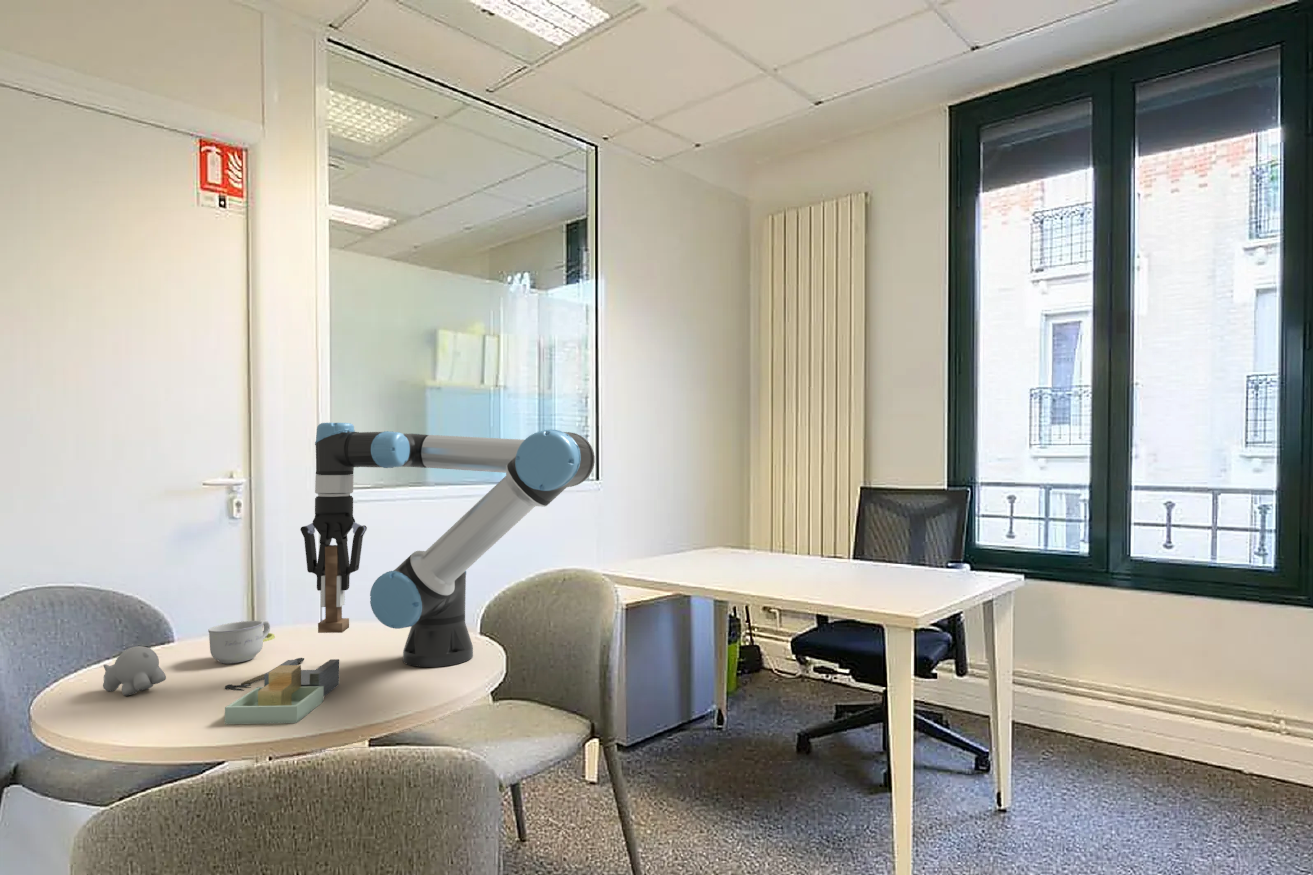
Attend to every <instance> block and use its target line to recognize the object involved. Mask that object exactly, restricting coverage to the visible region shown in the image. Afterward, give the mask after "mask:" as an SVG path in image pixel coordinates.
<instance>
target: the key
mask: <svg viewBox="0 0 1313 875" xmlns="http://www.w3.org/2000/svg"><path fill="white" fill-rule="evenodd" d="M275 638H276V637H275V634H274V633H271V632H269V633H268V635H267V636H266V637H265V638H264V639H263V643H264V642H268V641H272V640H274V639H275Z"/></svg>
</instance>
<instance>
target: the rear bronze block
mask: <svg viewBox="0 0 1313 875" xmlns="http://www.w3.org/2000/svg"><path fill="white" fill-rule="evenodd" d="M274 668H275V669H274ZM274 668H272V669H273V670H272V669H271V670H272V671H271V670H269V671H270V672H269V671H268V672H269V684H274V683H292V694H293V693H294V692H295V691H296V690H298V689H299V688H300V687H301V670H302V664H299V665H298V664H297V665H281V664H279V665H277V666H276V667H274Z"/></svg>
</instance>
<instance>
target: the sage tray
mask: <svg viewBox="0 0 1313 875" xmlns="http://www.w3.org/2000/svg"><path fill="white" fill-rule="evenodd" d="M263 687H264V686H257V687H256V688H254V689H252V690H251V691H249V692H248V693H246V694H244V695H243V696H241V697H239V698H238V699H236V700H234V701H233V702H231V703H230V704H228V705H227V706H225V707H224V725H246V724H247V725H249V724H250V725H251V724H252V725H253V724H254V725H257V724H297V723H299V722H300V721H301V720H303V719H304V718H305V717H306V716H307V715H308V714H310V713H311V712H312V711H314V710H315V709H316V708H317V707H319V706H320V705H321V704H322V703H323V702H324V697H323V693H324V686H301V687H300V688H299V689H298V690H296V691H295V692H294V693H293V694H292V705H284V706H258V691H259V690H260V689H262V688H263Z"/></svg>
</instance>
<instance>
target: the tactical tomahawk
mask: <svg viewBox="0 0 1313 875" xmlns="http://www.w3.org/2000/svg"><path fill="white" fill-rule="evenodd" d="M294 660H297V665H298V664H300V663H303V662H304V660H305V657H297V658H295V659H294ZM266 673H267V672H264V673H262V674H260V675H257V676H254V677H252V678H250V679H247V680H245V681H243V682H240V684H237V685H235V684H227V685H225V686H224V689H225V690H226V691H228V690H232V691H241V692H242V691H243V692H244V691H245V689H250V688H252V687H251V686H252V684H255V683H257V682H259V681H261V680H264V674H266ZM244 688H245V689H244Z"/></svg>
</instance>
